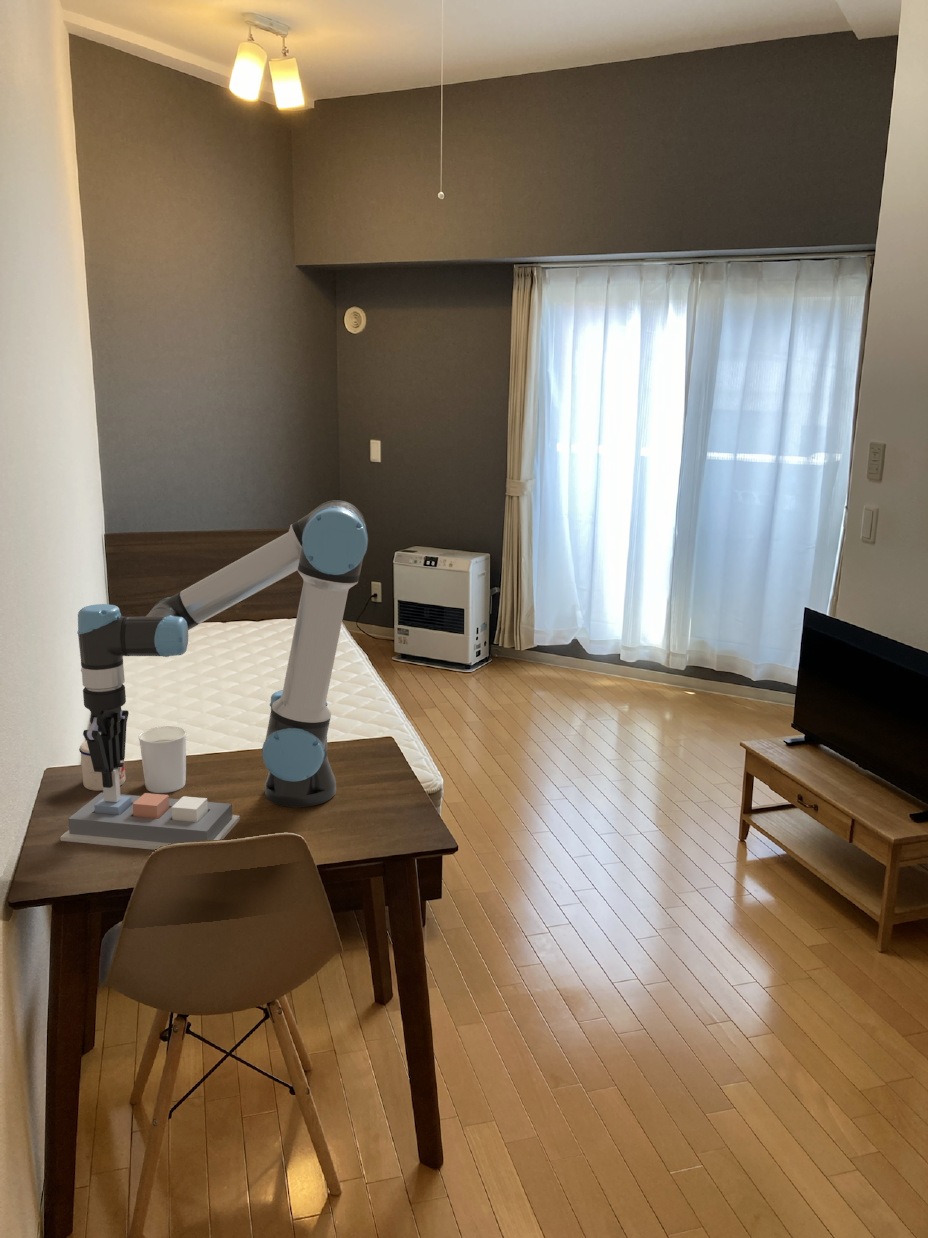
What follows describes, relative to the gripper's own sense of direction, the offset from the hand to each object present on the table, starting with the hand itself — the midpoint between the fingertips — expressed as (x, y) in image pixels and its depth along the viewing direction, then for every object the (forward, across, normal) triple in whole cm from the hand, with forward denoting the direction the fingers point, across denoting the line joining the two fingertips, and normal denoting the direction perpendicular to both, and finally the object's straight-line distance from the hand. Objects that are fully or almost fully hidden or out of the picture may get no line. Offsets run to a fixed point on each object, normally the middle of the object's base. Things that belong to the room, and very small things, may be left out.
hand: (112, 799), depth 182 cm
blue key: (+3, 0, 0) cm, 3 cm away
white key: (+2, 0, +16) cm, 16 cm away
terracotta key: (+2, 0, +8) cm, 8 cm away
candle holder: (+6, -20, +1) cm, 21 cm away
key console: (+6, 0, +8) cm, 10 cm away
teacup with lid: (+6, -20, -13) cm, 25 cm away
